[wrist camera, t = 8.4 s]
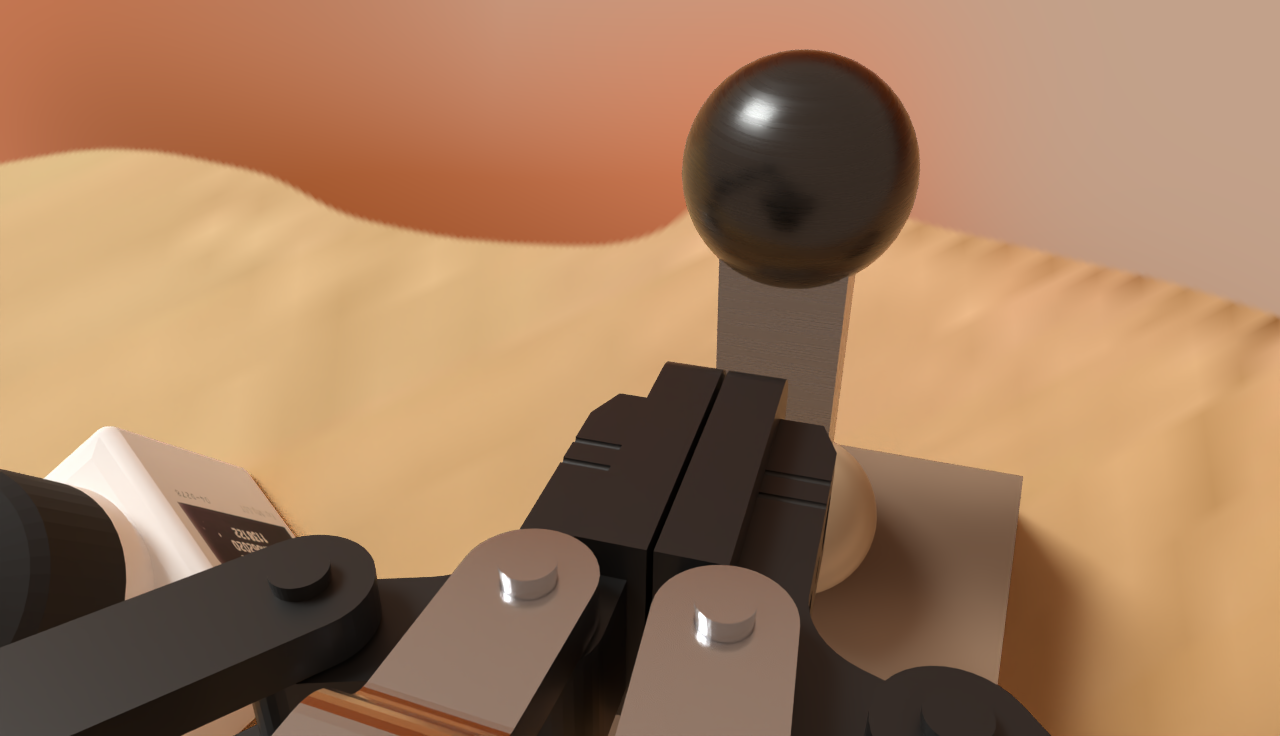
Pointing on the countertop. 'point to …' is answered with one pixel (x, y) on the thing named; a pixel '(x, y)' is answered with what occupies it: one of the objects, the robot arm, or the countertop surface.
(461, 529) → the countertop surface
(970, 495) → the bench block
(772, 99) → the lever
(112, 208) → the countertop surface
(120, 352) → the countertop surface
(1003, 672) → the countertop surface
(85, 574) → the container
